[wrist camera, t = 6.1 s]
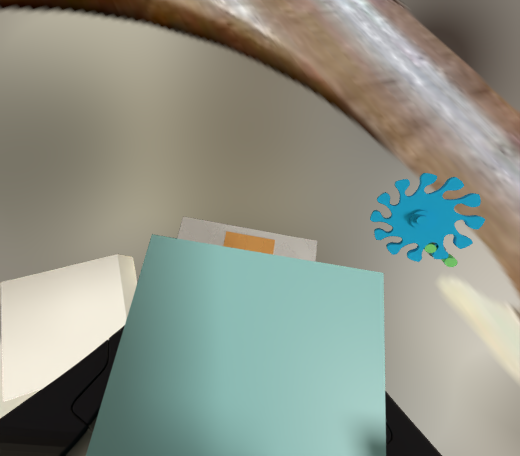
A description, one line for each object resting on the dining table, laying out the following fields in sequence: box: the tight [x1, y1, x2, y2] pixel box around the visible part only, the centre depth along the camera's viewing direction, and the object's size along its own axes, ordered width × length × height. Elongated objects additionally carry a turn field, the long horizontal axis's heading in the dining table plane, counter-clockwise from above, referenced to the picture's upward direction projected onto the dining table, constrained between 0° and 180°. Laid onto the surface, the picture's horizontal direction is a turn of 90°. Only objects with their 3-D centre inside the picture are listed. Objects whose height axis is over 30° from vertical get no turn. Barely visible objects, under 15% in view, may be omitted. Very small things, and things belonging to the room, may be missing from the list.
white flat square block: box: [1, 254, 137, 402], centre depth 18 cm, size 9×9×3 cm
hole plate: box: [177, 217, 317, 262], centre depth 20 cm, size 14×14×3 cm
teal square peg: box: [86, 234, 386, 456], centre depth 9 cm, size 5×5×11 cm
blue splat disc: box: [370, 173, 485, 267], centre depth 24 cm, size 11×6×10 cm
